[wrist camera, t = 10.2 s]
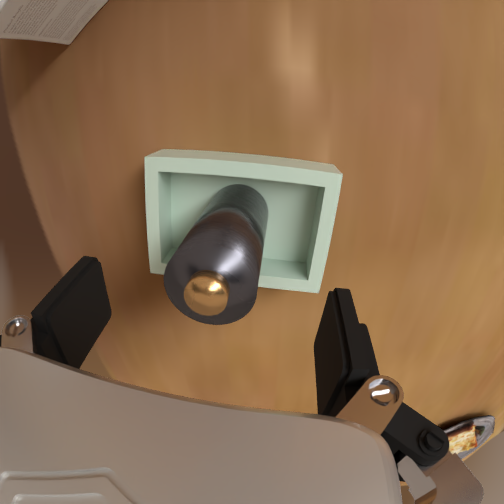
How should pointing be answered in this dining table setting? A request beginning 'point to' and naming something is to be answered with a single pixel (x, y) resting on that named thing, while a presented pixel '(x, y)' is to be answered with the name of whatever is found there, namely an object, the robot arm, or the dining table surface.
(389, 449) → the robot arm
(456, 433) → the food plate
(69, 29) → the small box
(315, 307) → the dining table surface
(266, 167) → the trough
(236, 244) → the cylinder
